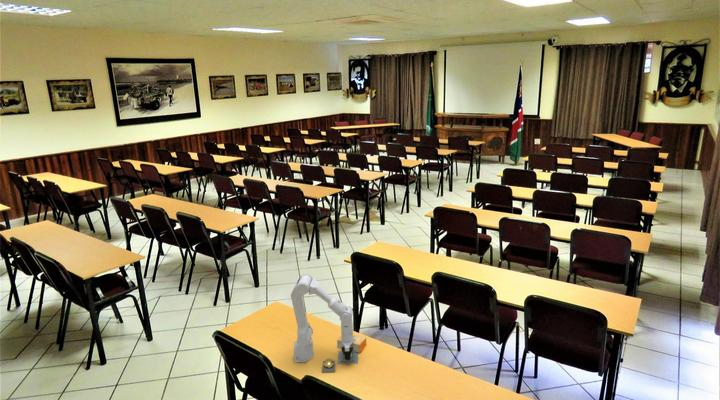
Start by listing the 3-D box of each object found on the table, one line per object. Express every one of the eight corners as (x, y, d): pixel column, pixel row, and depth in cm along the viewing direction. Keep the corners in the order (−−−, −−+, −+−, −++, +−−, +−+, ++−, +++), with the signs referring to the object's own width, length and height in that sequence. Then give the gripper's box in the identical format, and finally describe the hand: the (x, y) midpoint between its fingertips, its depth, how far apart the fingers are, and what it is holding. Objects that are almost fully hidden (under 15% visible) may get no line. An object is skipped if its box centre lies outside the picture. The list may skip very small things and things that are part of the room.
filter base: (337, 365, 209) (337, 362, 208) (338, 352, 218) (338, 350, 218) (358, 365, 209) (358, 362, 208) (358, 352, 218) (357, 349, 218)
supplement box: (359, 344, 214) (336, 339, 220) (360, 353, 215) (336, 348, 221) (366, 337, 222) (343, 332, 227) (366, 345, 223) (344, 340, 228)
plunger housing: (322, 374, 203) (322, 368, 202) (323, 365, 209) (323, 360, 208) (334, 374, 203) (334, 368, 202) (335, 365, 209) (335, 360, 208)
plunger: (323, 372, 203) (323, 365, 202) (324, 365, 208) (323, 358, 207) (333, 372, 203) (333, 365, 202) (334, 365, 208) (334, 358, 207)
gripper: (355, 339, 202) (355, 364, 206) (355, 322, 216) (355, 345, 220) (340, 340, 202) (341, 364, 206) (341, 322, 216) (342, 345, 220)
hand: (347, 354), depth 213 cm, fingers open, 7 cm apart
